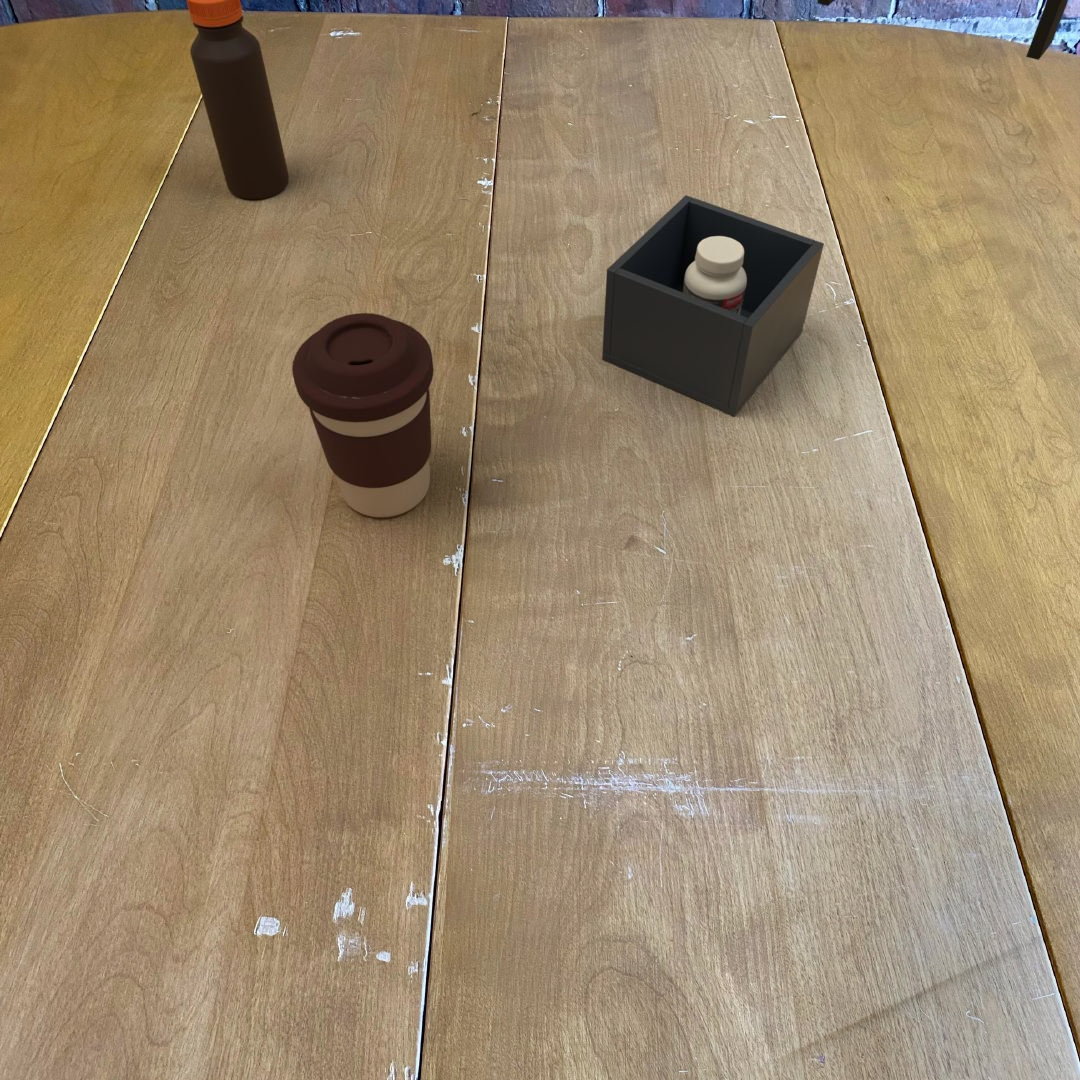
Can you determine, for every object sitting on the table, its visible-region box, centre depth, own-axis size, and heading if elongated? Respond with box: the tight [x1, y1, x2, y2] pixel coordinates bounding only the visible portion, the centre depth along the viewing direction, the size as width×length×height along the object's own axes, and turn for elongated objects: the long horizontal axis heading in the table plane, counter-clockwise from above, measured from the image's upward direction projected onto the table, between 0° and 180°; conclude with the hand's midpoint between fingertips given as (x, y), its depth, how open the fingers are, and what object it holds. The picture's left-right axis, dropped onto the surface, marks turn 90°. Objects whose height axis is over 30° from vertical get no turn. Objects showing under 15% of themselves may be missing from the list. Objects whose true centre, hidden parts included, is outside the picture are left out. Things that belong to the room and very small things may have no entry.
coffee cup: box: [291, 312, 434, 518], centre depth 75 cm, size 10×10×15 cm
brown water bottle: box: [186, 0, 290, 200], centre depth 102 cm, size 7×7×20 cm
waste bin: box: [601, 195, 825, 417], centre depth 88 cm, size 14×14×10 cm
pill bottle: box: [683, 236, 747, 315], centre depth 87 cm, size 5×5×10 cm
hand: (930, 23), depth 63 cm, fingers open, 13 cm apart
